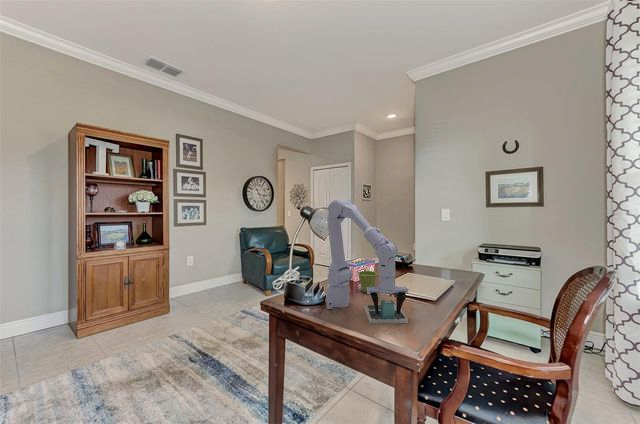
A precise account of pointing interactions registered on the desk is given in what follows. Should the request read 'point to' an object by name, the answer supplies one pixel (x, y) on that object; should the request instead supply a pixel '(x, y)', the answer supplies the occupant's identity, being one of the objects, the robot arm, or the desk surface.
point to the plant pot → (367, 279)
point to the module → (387, 309)
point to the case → (378, 319)
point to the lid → (372, 307)
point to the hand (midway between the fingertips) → (387, 312)
